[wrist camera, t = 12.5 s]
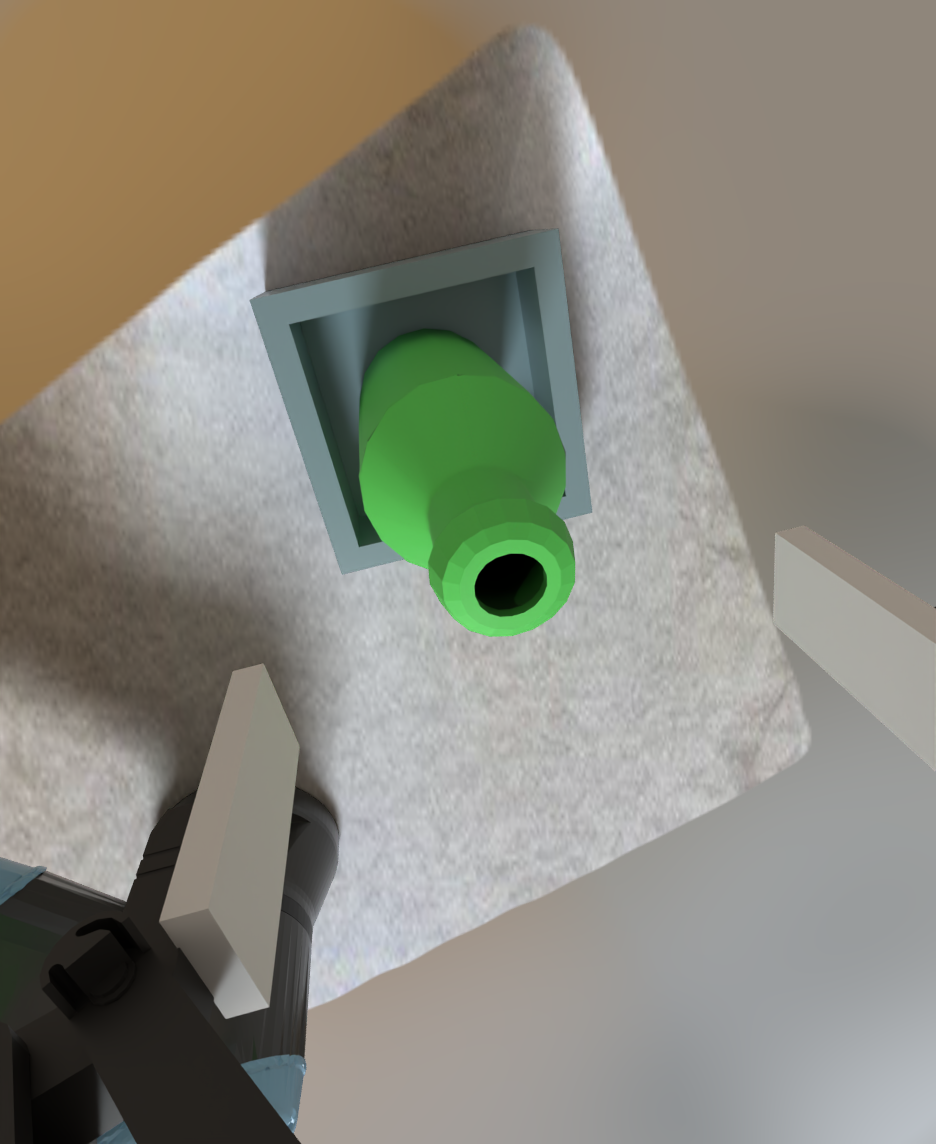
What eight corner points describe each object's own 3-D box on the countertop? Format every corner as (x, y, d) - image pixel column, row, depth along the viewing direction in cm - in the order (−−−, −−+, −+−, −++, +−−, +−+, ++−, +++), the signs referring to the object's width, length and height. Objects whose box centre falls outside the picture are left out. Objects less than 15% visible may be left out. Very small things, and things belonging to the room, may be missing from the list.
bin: (344, 535, 45) (342, 574, 40) (265, 291, 38) (249, 300, 33) (565, 481, 46) (592, 512, 41) (531, 230, 38) (558, 228, 33)
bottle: (481, 309, 39) (637, 399, 17) (511, 445, 43) (670, 660, 21) (339, 350, 39) (312, 494, 17) (383, 482, 43) (408, 738, 21)
